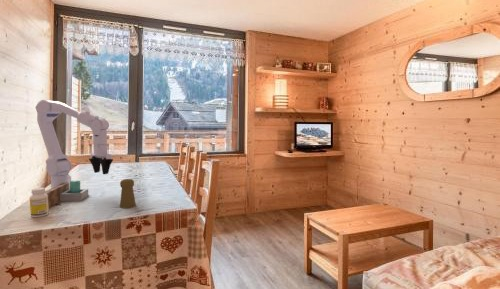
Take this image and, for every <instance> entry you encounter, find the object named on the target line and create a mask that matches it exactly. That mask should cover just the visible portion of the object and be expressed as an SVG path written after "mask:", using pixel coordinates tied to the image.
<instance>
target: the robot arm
mask: <svg viewBox="0 0 500 289" xmlns="http://www.w3.org/2000/svg"><path fill="white" fill-rule="evenodd" d="M35 110H36V113H37V117H36V120H37V124H38V128H39V131H40V133H41V138H42V140H43V143H44V146H45V148H46V151H47V154H48V157H47V158H46V160H45V167H46V168H45V170H46V173H47V174H48V175H49V176H50V189H51V188H53V187H55V186H57V185H59V184H61V183H69V190H70V181H72V176H71V175H70V171H71V170H72V168H73V164H72V162H71V161H70V159H69V158H68V156H67V155H66V154H64V153H63V152H62V148H61V145H60V141H59V140H58V136H57V134H56V130H55V127H54V123H53V122H54V120H55V119H56V118H58V117H59V116H60V115H61V114H62V113H63V114H66V115H68V116H70V117H73V118H75V119H76V120H77V122H78V123H80V124H82V125H83V126H85V127H88V128H89V129H90V130H91V132H92V142H93V144H92V145H93V152H90V157H89V158H88V161H89V162H90V164H91V166H92V169H93V172H94V173H100V172H101V171H102V174H103V175H108V174H109V171H110V168H111V165H112V163H113V161H114V158H112V154H111V153H110V154H109V153H108V134H107V133H108V131H107V130H108V129H109V127H110V123H109V121H108V120H107V119H106V118H100V117H99V116H98V115H93V114H91V113H90V111H80V110H77V109H75V108H74V107H71V106H69V105H67V104H66V103H64V102H61V101H59V100H55V101H54V100H46V99H41V100H39V101H38V102H37V104H36V105H35Z"/></svg>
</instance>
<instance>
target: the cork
mask: <svg viewBox="0 0 500 289" xmlns="http://www.w3.org/2000/svg"><path fill="white" fill-rule="evenodd" d="M134 185H135V181H134V180H133V179H132V178H124V179H121V180H120V183H119V186H120V187H121V190H120V192H121V193H120V201H119V208H121V209H131V207H132V208H135V207H136V206H137V204H136V198H135V192H134ZM134 206H135V207H134Z"/></svg>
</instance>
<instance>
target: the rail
mask: <svg viewBox="0 0 500 289" xmlns="http://www.w3.org/2000/svg"><path fill="white" fill-rule="evenodd" d="M66 190H69V183H61V184H59V185H57V186H55V187H53V188H51V187H50V188H49V189H47V190H45V194H47V195H48V205H49V209H50V208H52V207H53V206H54V205H56V204H58V203H59V202H61V201H60V194H61V193H63V192H65V191H66Z"/></svg>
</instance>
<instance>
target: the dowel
mask: <svg viewBox="0 0 500 289" xmlns="http://www.w3.org/2000/svg"><path fill="white" fill-rule="evenodd" d="M80 189H81V180H79V179H78V180H71V181H70V193H80Z"/></svg>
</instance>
